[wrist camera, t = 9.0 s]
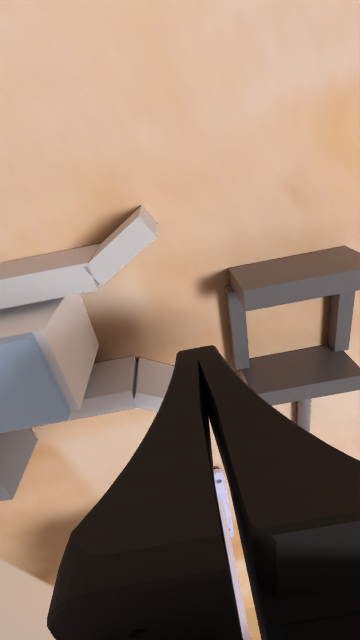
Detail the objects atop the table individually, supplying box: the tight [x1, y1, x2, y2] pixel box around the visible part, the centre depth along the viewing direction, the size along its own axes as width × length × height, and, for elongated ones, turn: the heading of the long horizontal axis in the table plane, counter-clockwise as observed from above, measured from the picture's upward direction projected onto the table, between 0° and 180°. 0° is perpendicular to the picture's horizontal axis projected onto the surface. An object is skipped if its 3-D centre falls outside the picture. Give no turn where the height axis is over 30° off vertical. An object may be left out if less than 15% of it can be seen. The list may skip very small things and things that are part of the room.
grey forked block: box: [0, 205, 175, 501], centre depth 14 cm, size 16×14×5 cm
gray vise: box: [225, 246, 360, 433], centre depth 17 cm, size 13×7×3 cm, turn 10°
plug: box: [0, 294, 99, 432], centre depth 14 cm, size 4×4×6 cm
